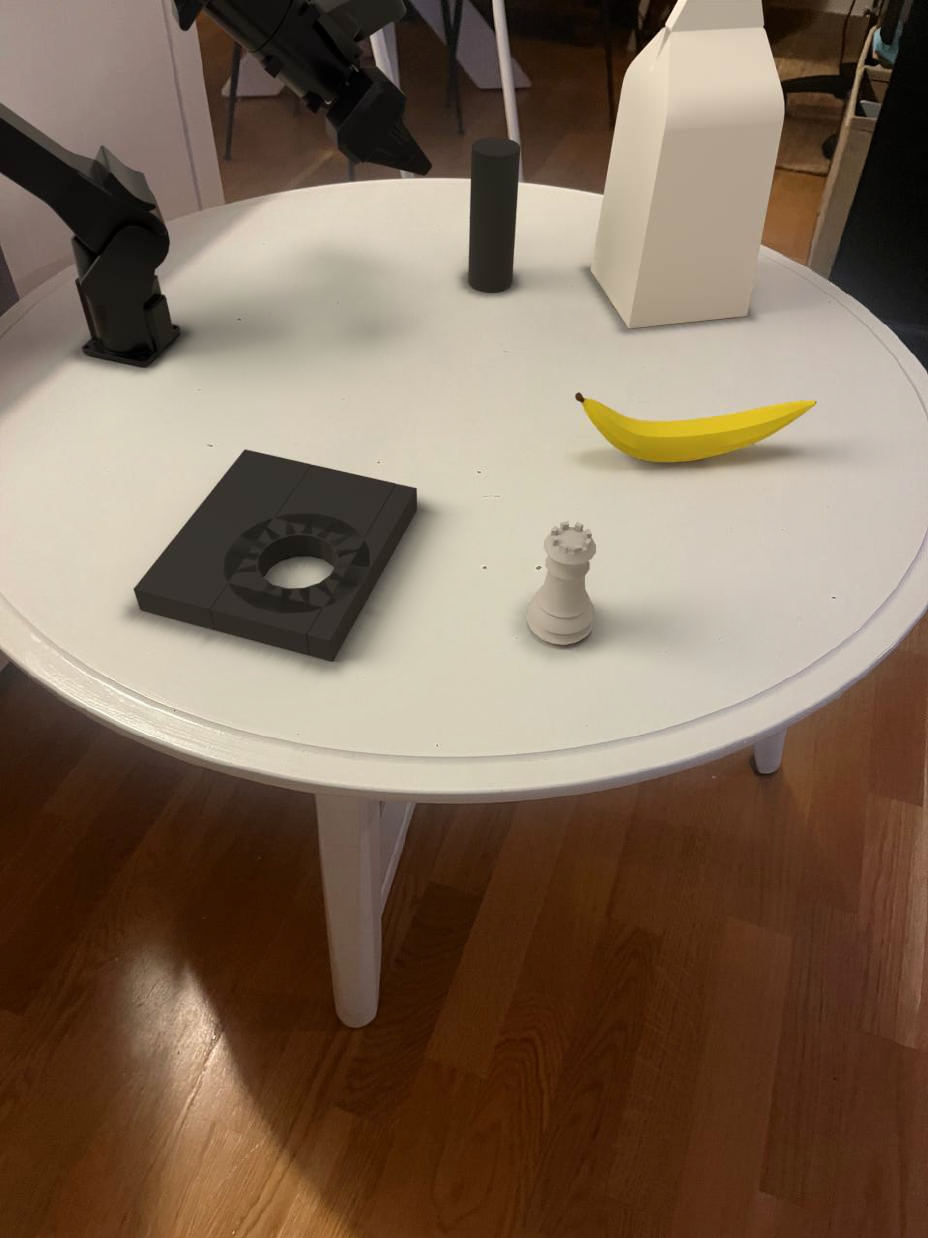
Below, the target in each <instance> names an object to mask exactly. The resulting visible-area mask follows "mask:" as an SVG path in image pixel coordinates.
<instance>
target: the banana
mask: <svg viewBox="0 0 928 1238" xmlns="http://www.w3.org/2000/svg"><path fill="white" fill-rule="evenodd" d="M574 398H575V400H576V401H577V402H579V403H580V404H581V406H582V408H583V411H584V413H585V414H586V416H587V417H588V419H589V420H590V422H591V423H592V425H593V426H594V427H595V428H596V429H597V431H598V432H599V433H600V434H601V435H602V437H604V439H605V440H606V441H607V442H608V443H610V444H611V445H612V446H613V447H614V448H616V449H617V450H619V451H620V452H621V453H623V454H625V455H627V456H629V457H633V458H635V459H637V460H640V461H641V460H642V461H647V462H652V463H679V462H680V463H681V462H689V461H690V462H691V461H696V460H702V459H707V458H712V457H716V456H719V455H723V454H727V453H732V452H734V451H737V450H741V449H743V448H746V447H749V446H752V445H755V444H756V443H760V442H761V441H762V440H765V439H767V438H769V437H771V436H772V435H774V434H776V433H778V432H779V431H780V430H781V431H782V429H784V428H785V427H787V426H788V425H790V424H792V423H794V421H796V420H798V419H799V418H800V417H801V416H803V415H805V414H806V413H807V412H808V411H809V410H811V409H812V408H813V407H815V406H816V404H817V400H814V399H812V400H804V399H803V400H795V401H789V402H782V403H776V404H772V405H771V404H770V405H767V406H762V407H761V406H760V407H757V408H753V409H748V410H743V411H742V410H741V411H738V412H733V413H727V414H721V415H714V416H708V417H706V416H705V417H699V418H691V419H679V420H678V419H677V420H645V419H637V418H632V417H629V416H627V415H624V414H622V413H620V412H618V411H616V410H614V409H613V408H611V407H609V406H608V405H606V404H605V403H602V402H600V401H597V400H596V399H592V398H586V397H584V396H583V394H582V393H581V392H579V391H578V392H576V393H575V395H574Z"/></svg>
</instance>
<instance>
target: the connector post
mask: <svg viewBox="0 0 928 1238" xmlns="http://www.w3.org/2000/svg"><path fill="white" fill-rule="evenodd" d="M470 150H471V152H470V154H471V156H470V158H471V159H470V193H469V227H468V228H469V230H468V231H469V232H468V233H469V235H468V267H467V268H468V270H467V274H468V275H467V282H468V285H469V286H470V287H471V288H472V289H474V290H476V291H478V292H482V293H489V294H490V293H500V292H501V293H502V292H504V291H507V290H508V289H510V288H511V286H512V285H513V277H514V262H515V244H516V231H517V230H516V229H517V226H516V225H517V214H518V213H517V212H518V196H519V180H520V179H519V178H520V163H521V162H520V161H521V145H520V143H518V142H517V141H515V140H513V139H510V138H506V137H500V136H491V137H490V136H489V137H483V138H482V137H481V138H479V139H477V140H474V141H473V143H472V144H471V149H470Z"/></svg>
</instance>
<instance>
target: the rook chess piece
mask: <svg viewBox="0 0 928 1238" xmlns="http://www.w3.org/2000/svg"><path fill="white" fill-rule="evenodd" d="M592 536H593V533H592V531H591V530H590V528H587V529H585V530H584V524H583V523H581V522H578V521H576V522H575V524H574V526H570V523H569V520H567V521H561V522H560V525H559V526H557V525H554V526H553V528H552V529H551V530H550V533H548V535H547V536H546V537H545V539H544V540H543V549H544V551H545V553H546V556H547V557H546V558H545V564H544V565H545V567H546V570H547V572H546V575H545V578H544V582H543V584H542V585H541V586H540V588H539V589H538V590H537V591H536V592H535V593H534V595H533V596H532V597H531V599H530V601H529V606H528V610H527V616H526V622H527V624H528V627H529V628H530V630H531V631H532V632H533V633H534V634H535V635H536V636H537V637H538V638H540V640H542V641H544V642H545V643H549V644H551V645H557V646H566V645H567V646H568V645H573V644H575V643H578V642H579V641H581V640H582V639H585V638H586V637H588V636H589V634H590V633H591V632H592V630H593V628H594V614H595V613H594V612H595V608H594V604H593V602H592V599H591V598H590V596H589V594H588V592H587V590H586V575H587V574H588V573H589V571H590V569H591V568H590V567H591V562H590V560H592V559H593V558H594V556H595V555H596V553H597V544H596V542H595V540H594V539H593V537H592Z"/></svg>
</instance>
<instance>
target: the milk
mask: <svg viewBox="0 0 928 1238" xmlns="http://www.w3.org/2000/svg"><path fill="white" fill-rule="evenodd" d="M763 11H764V10H763V3H762V0H677V2H676V4H675V5H674V6H673V9H672V11H671V13H670V14H669V16H668V18H667V20H666V22H665V24H664V25H665V26H664V27H662V28H661V29H660V31H659V32H657V34H655V36H654V37H653V38H652V39H651V40H650V41H649V42H648V43H647V45H646V46H645V47H644V48H643V49H642V50H641V51H640V52H639V53H638V55H636V57H635V58H634V59H633V60H632V61H631V63H630V64H629V66H628V68H627V69H626V72H625V74H624V77H623V81H622V86H621V90H620V97H619V103H618V108H617V113H616V120H615V125H614V131H613V137H612V143H611V150H610V155H609V160H608V168H607V174H606V178H605V184H604V190H603V195H602V202H601V206H600V207H601V208H600V214H599V219H598V223H597V224H598V225H597V231H596V236H595V242H594V248H593V254H592V259H591V266H590V272H591V273H592V275H593V276H594V279H596V281H597V283H598V284H599V285H600V287H601V289H602V290H603V291H604V293H605V295H606V296H607V298H608V299H609V301H610V302H611V304H612V305H613V307H614V308H615V310H616V312H617V313H618V314H619V316H620V318H621V320H622V321H623V322H624V324H625V325H626V327H627V328H628V329H637V328H646V327H655V326H665V325H676V324H684V323H694V322H702V321H703V322H704V321H714V320H723V319H731V318H732V319H733V318H744V317H748V313H749V309H750V303H751V297H752V291H753V286H754V281H755V275H756V271H757V270H756V269H757V265H758V261H759V255H760V248H761V244H762V238H763V234H764V227H765V223H766V217H767V212H768V207H769V202H770V201H769V200H770V196H771V191H772V184H773V179H774V174H775V168H776V164H777V158H778V152H779V147H780V141H781V137H782V130H783V125H784V121H785V120H784V119H785V98H784V92H783V88H782V84H781V80H780V76H779V73H778V69H777V67H776V66H777V65H776V63H775V60H774V56H773V52H772V49H771V45H770V40H769V38H768V35H767V32H766V29H765V28H764V26H765V20H764V19H765V18H764V12H763Z"/></svg>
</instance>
